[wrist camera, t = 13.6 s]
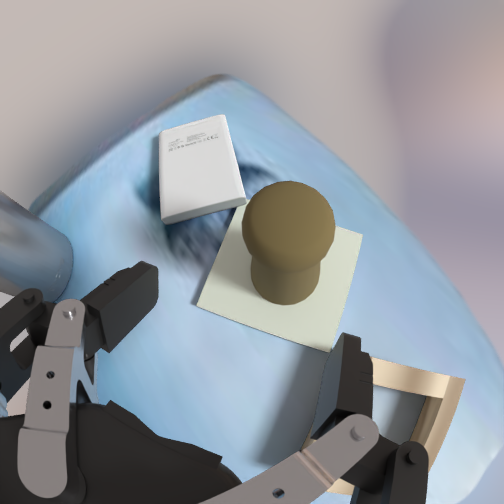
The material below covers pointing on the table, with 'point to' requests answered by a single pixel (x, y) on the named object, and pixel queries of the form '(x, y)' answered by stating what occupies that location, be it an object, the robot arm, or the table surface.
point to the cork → (287, 240)
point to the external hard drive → (198, 170)
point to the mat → (273, 315)
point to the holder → (433, 412)
